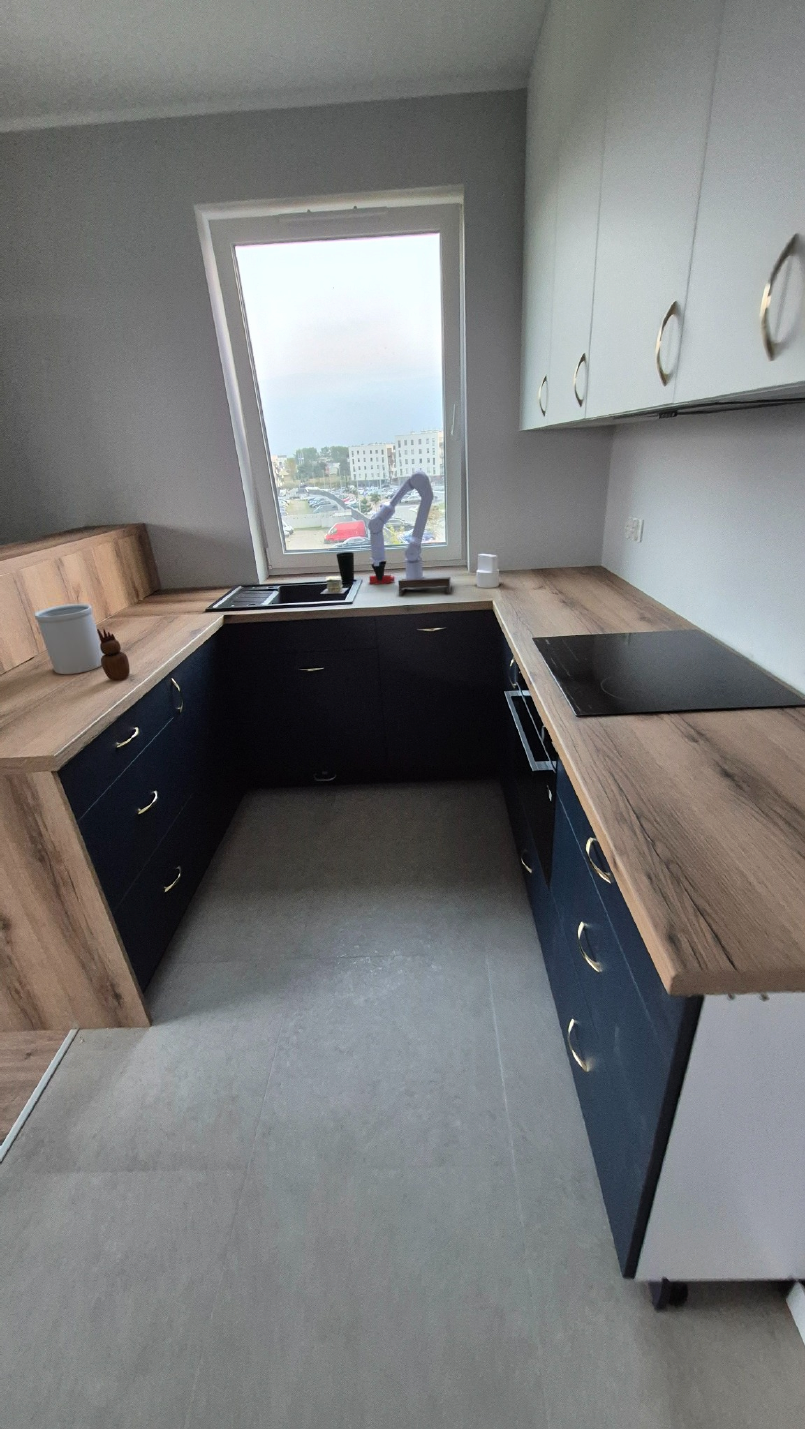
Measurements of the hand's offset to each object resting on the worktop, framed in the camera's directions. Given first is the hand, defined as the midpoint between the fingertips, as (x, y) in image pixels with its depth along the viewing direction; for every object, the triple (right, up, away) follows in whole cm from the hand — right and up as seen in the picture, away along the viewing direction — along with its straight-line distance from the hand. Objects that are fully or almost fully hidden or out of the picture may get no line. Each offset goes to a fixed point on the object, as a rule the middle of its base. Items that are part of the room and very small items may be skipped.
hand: (380, 579), depth 250 cm
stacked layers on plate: (-19, -7, -8) cm, 22 cm away
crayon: (0, -1, +1) cm, 1 cm away
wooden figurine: (-70, -49, -89) cm, 123 cm away
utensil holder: (-88, -44, -76) cm, 124 cm away
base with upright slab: (+44, -6, -17) cm, 48 cm away
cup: (-15, +1, +9) cm, 17 cm away
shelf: (+19, -9, -19) cm, 28 cm away
